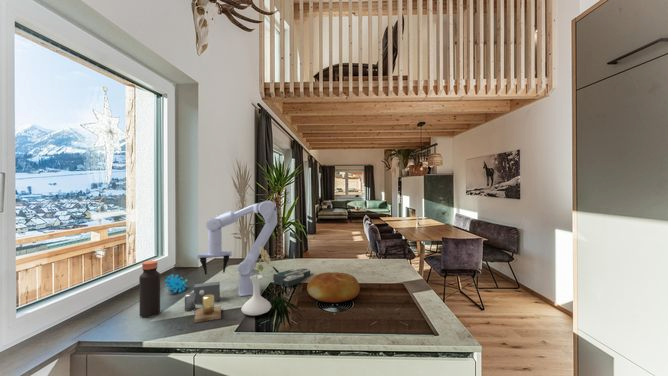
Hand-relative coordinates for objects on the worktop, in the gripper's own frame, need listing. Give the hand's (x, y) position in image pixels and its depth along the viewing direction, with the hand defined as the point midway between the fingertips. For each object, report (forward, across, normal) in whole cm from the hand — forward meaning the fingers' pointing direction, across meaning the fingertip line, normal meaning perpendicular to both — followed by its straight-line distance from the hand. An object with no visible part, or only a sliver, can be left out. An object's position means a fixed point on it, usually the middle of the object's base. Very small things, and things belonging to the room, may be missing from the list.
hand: (214, 272), depth 132 cm
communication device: (+10, -39, -6) cm, 41 cm away
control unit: (+9, +3, +8) cm, 13 cm away
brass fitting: (+8, +2, +24) cm, 25 cm away
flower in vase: (+10, -16, +27) cm, 33 cm away
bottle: (+10, +23, +14) cm, 29 cm away
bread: (+10, -50, +23) cm, 56 cm away
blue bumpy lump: (+10, +17, -10) cm, 22 cm away
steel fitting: (+9, +9, +15) cm, 20 cm away
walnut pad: (+9, +2, +24) cm, 26 cm away
